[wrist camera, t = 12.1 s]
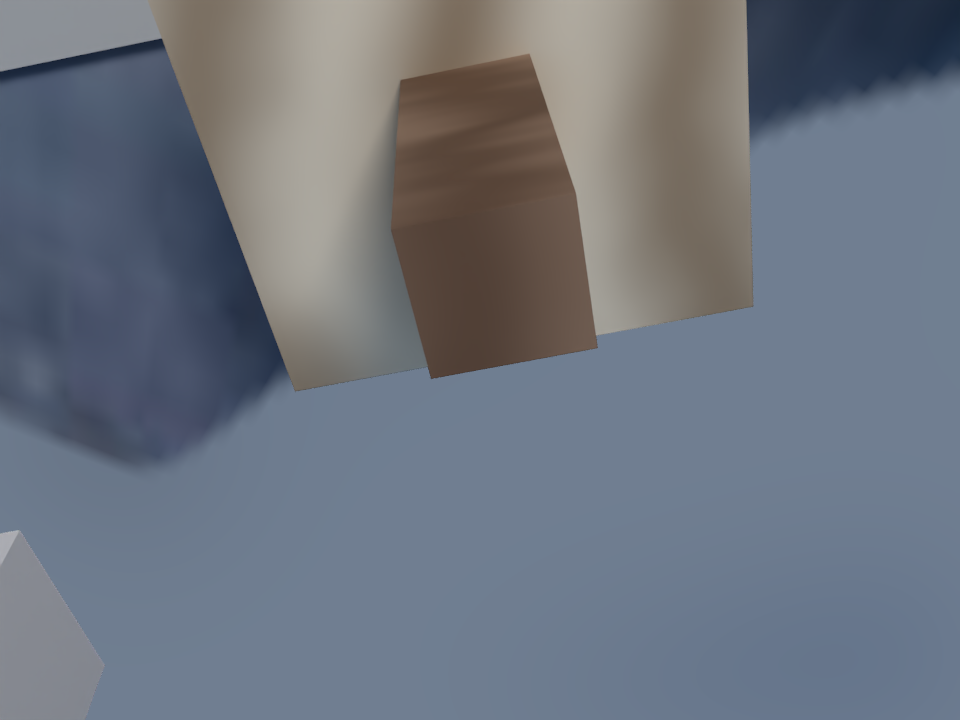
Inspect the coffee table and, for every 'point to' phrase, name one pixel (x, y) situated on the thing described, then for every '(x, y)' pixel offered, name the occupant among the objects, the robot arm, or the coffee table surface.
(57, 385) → the coffee table surface
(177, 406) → the coffee table surface
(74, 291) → the coffee table surface
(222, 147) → the board
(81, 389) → the coffee table surface
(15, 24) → the mat
